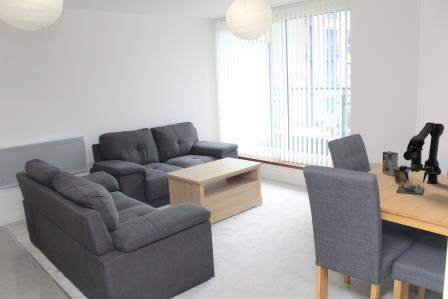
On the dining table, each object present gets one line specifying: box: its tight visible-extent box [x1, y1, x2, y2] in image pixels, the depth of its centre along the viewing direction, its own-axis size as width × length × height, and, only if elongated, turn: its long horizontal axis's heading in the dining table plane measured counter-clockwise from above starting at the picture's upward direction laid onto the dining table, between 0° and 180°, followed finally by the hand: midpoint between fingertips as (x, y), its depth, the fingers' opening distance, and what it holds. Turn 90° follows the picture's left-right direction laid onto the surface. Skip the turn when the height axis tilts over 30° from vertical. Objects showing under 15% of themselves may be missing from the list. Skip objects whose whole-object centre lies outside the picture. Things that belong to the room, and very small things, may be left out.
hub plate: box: [395, 183, 424, 196], centre depth 244 cm, size 14×14×3 cm
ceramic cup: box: [393, 166, 410, 185], centre depth 263 cm, size 13×10×10 cm
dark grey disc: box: [403, 178, 417, 189], centre depth 245 cm, size 9×7×5 cm
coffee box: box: [382, 150, 399, 176], centre depth 287 cm, size 9×6×16 cm
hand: (415, 182), depth 245 cm, fingers open, 8 cm apart
